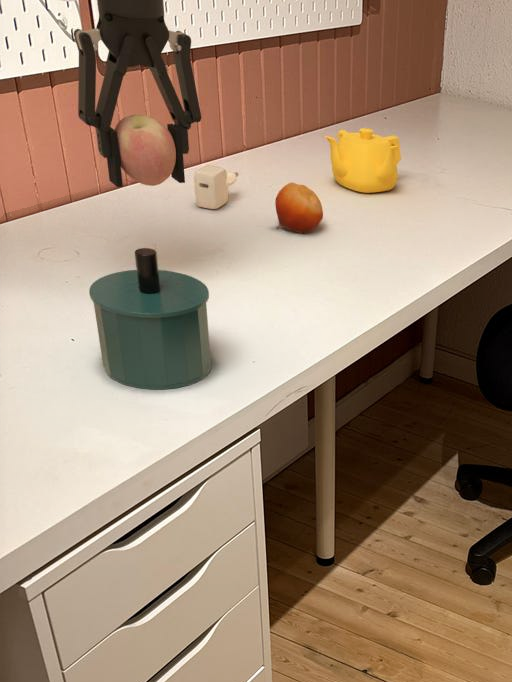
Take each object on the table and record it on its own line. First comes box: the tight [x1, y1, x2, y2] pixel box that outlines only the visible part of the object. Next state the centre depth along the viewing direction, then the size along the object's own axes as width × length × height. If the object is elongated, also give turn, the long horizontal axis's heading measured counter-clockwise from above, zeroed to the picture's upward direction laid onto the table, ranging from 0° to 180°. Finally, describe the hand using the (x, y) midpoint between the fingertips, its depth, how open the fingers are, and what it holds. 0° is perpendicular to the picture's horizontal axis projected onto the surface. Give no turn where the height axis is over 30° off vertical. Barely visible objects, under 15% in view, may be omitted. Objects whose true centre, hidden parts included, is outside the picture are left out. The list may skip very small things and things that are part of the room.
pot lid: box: [88, 247, 210, 318], centre depth 111 cm, size 13×13×6 cm
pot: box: [93, 302, 212, 390], centre depth 116 cm, size 13×13×9 cm
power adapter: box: [193, 164, 239, 210], centre depth 166 cm, size 11×5×6 cm, turn 168°
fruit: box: [274, 182, 324, 234], centre depth 160 cm, size 8×8×8 cm
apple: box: [113, 114, 176, 187], centre depth 124 cm, size 8×8×8 cm
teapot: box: [323, 127, 402, 194], centre depth 181 cm, size 14×13×10 cm
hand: (147, 181), depth 126 cm, fingers closed on apple, 8 cm apart
